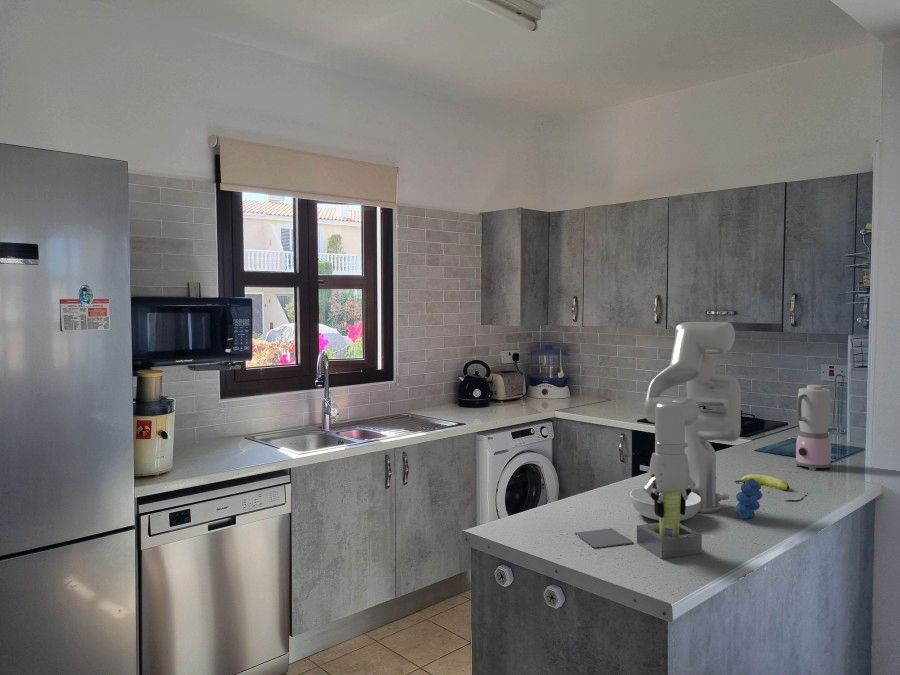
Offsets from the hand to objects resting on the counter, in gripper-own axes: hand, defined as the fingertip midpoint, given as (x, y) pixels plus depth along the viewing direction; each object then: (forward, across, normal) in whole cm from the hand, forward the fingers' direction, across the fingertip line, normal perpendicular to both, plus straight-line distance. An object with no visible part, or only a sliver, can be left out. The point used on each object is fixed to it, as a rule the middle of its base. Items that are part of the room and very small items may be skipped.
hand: (670, 514), depth 181 cm
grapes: (+10, -37, -15) cm, 41 cm away
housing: (+9, 0, 0) cm, 9 cm away
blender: (+11, -100, -57) cm, 116 cm away
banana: (+11, -66, -42) cm, 79 cm away
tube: (+8, 0, 0) cm, 8 cm away
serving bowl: (+10, -14, -23) cm, 29 cm away
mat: (+9, +13, -12) cm, 20 cm away
